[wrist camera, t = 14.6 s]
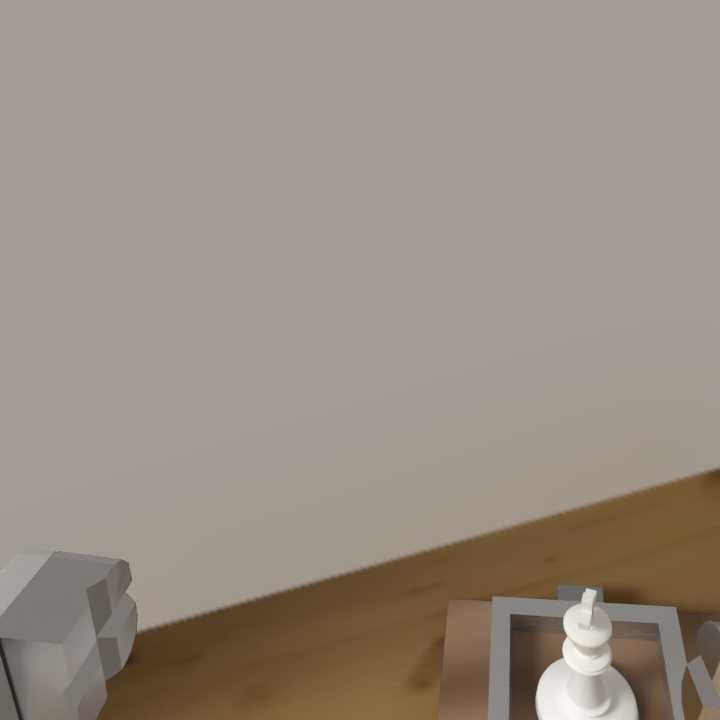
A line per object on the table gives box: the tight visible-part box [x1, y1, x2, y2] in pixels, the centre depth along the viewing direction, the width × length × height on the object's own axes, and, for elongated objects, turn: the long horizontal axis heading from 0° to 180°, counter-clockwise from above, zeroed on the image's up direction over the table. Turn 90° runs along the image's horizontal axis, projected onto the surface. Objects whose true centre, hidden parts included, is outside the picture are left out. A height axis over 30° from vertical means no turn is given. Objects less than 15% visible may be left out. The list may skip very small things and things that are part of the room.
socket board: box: [438, 599, 720, 720], centre depth 33 cm, size 11×15×1 cm
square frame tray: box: [488, 584, 687, 720], centre depth 33 cm, size 12×10×2 cm
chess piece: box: [535, 588, 639, 720], centre depth 30 cm, size 5×5×10 cm
